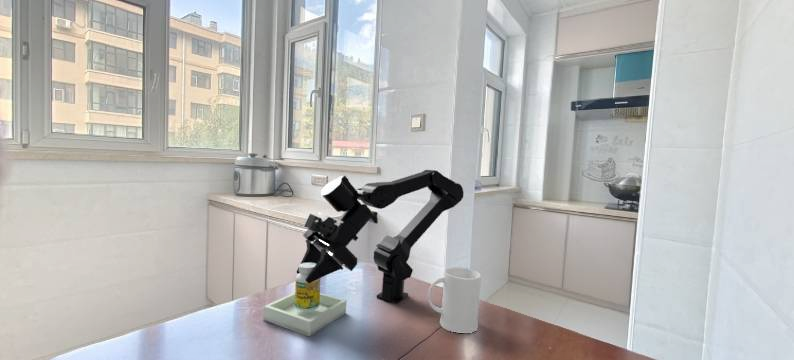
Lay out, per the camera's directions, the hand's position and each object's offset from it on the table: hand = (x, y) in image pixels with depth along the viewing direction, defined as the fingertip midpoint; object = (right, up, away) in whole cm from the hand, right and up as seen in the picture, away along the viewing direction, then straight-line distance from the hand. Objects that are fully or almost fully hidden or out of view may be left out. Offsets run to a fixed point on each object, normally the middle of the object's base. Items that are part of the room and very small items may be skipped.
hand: (302, 277), depth 74 cm
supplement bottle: (+1, -7, +1) cm, 7 cm away
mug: (+33, -11, +2) cm, 35 cm away
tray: (+1, -9, +1) cm, 9 cm away
